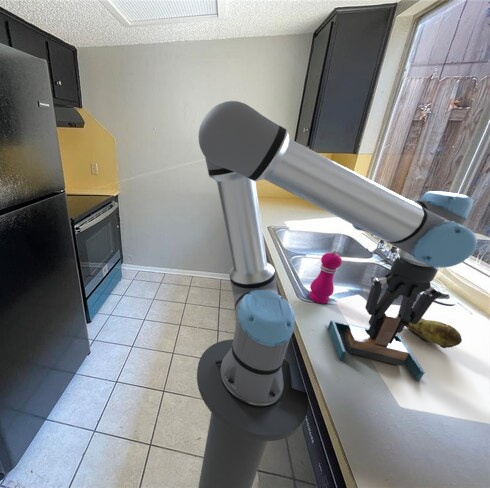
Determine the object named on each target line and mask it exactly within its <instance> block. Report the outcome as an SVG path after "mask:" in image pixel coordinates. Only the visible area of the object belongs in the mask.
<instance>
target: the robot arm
mask: <svg viewBox="0 0 490 488" xmlns="http://www.w3.org/2000/svg"><path fill="white" fill-rule="evenodd" d="M198 145H199V149H200V150H201V153H202V154H203V156H204V159H205V163H206V168H207V173H208V177H209V178H211V179H213V180H214V181H215V182H216V184H217V191H218V195H219V199H220V205H221V206H220V207H221V210H222V215H223V220H224V226H225V230H226V235H227V240H228V246H229V251H230V256H231V261H232V268H230V270H229V272H228V275H229V281H230V285H231V290H232V296H233V305H234V318H235V327H234V328H235V329H234V333H233V344H232V348H231V349H230V350H229V352H228V353H227V354H226V356H225V357H224V359H223V360H217V361H215V363H216V364H221V367H220V378H221V381H222V383H223V385H224V387H225V389H226V390H227V391H228V392H229V394H230V395H231V396H233V397H234V398H235V399H236V400H238V401H239V402H241V403H243V404H245V405H248V406H251V407H255V408H266V407H270V406H272V405H274V404H276V403H277V402H278V401H279V399H280V397H281V395H282V392H283V385H284V383H283V380H284V379H283V375H282V368H281V365H282V362H283V359H285V356H286V353H287V350H288V347H289V345H290V341H291V338H292V335H293V333H294V330H295V322H296V315H295V310H294V308H293V307H292V305H291V303H290V302H289V301H288V300H287V299H286V298H282V296H281V295H280V294H279V292H278V291H279V290H278V286H277V278H276V271H275V268H274V266H273V265H272V264H271V263H270V262H268V259H267V253H266V245H265V239H264V232H263V225H262V217H261V210H260V205H259V197H258V191H257V183H256V182H259V181H262V180H265V182H268V183H270V184H272V185H275V186H277V187H279V188H280V189H282V190H284V191H286V192H288V193H290V194H292V195H294V196H296V197H298V198H300V199H301V200H304V201H306V202H307V203H309V204H312V205H313V206H316V207H317V208H319V209H321V210H324V211H325V212H328V213H329V214H331V215H333V216H335V217H337V218H339V219H341V220H343V221H345V222H347V223H349V224H351V225H352V227H353V228H354V229H355V230H357V231H361V232H366V233H369V234H370V235H372V236H375V237H377V238H378V239H380V240H383V241H384V242H386V243H388V244H390V245H392V246H393V247H395V248H397V249H398V251H397V254H398V255H396V256H395V258H394V260H393V262H392V264H391V266H390V270H389V272H388V273H386V274H385V276H383V277H378V278H377V276H372V277H371V278H370V281H371V288H370V290H369V294H368V297H367V300H366V304H365V308H364V309H365V310H366V312H367V314H368V315H369V316H370V318H369V320H368V326H369V328H368V329H369V330H368V334H369V336H370V338H371V339H373V340H375V338H376V336H377V334H378V332H379V329H380V327H381V325H382V323H383V321H384V320H383V318H382V316H383V315H384V313H385V312H386V311H387V310H389V308H390V307H391V305H392V304H393V303H394V301H395V300H397V299H399V297H400V296H402V298H401V303H400V305H399V310H398V313H397V315H398V316H399V317H400V319H401V320H400V322H399V324H398V326H397V328H396V330H395V332H394V334H393V336H392V338H391V340H390V342H389V343H390V344H391V343H392V341H393V340H394V338H395V336H396V335H398V334H400V333H402V332H403V330H404V328H405V327H406V326H409V323H413V324H417V323H418V322H419V321H420V319H421V318H422V319H423V317H424V315H425V314H426V313H427V311H428V309H429V308H430V307H431V305H432V304H433V303H434V301H436V300H437V299H439V298H440V297H441V296H442V295H443V294H442V292H441V291H440V290H438V289H437V288H436V287H435V286H432V283H431V282H433V281H434V280H435V277H436V276H437V273H438V271H439V269H440V268H441V269H442V268H450V267H454V266H457V265H459V264H461V263H463V262H465V261H466V260H468V259H469V257H471V256H472V255H473V254H474V252H475V251H476V249H477V246H478V239H477V235H476V234H475V232H473V230H471V229H470V228H468V227H466V226H464V225H465V223H466V221H467V220H468V217H469V214H470V212H471V211H472V208H473V205H474V200H473V198H471V197H470V196H468V195H465V194H461V193H456V192H448V191H440V190H433V191H432V190H430V191H427V192H425V193H424V194H423V196H422V197H421V198H420V200H411V199H408V198H406V197H404V196H402V195H400V194H398V193H396V192H394V191H392V190H390V189H388V188H386V187H384V186H382V185H381V184H379V183H377V182H375V181H373V180H371V179H369V178H367V177H365V176H363V175H361V174H360V173H357V172H355V171H354V170H351V169H349V168H348V167H345V166H343V165H342V164H340V163H337V162H336V161H334V160H332V159H330V158H328V157H327V156H324V155H323V154H320V153H318V152H316V151H314V150H312V149H311V148H309V147H307V146H305V145H303V144H300V143H299V142H297V141H295V140H293V139H291V137H290V134H289V130H288V129H287V128H285V127H283V126H282V125H279V124H277V123H276V122H274V121H272V120H271V119H269V118H268V117H266V116H265V115H263V114H261V113H260V112H258V111H257V110H256V109H255V108H253V107H251V106H250V105H248V104H246V103H245V102H241V101H238V100H237V101H236V100H228V101H224V102H222V103H219V104H217V105H215V106H213V107H212V108H211V109H210V110H209V111H208V112H207V113H206V114H205V116H204V118H203V119H202V120H201V123H200V126H199V129H198ZM385 285H387V287H386V289H385V292H384V293H383V295H382V294H381V293H382V291H383V289H382V288H384V287H385ZM420 294H421V295H420ZM381 295H382V296H381ZM418 295H420V296H419V297H418ZM380 297H381V298H380ZM417 298H418V299H417Z"/></svg>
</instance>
